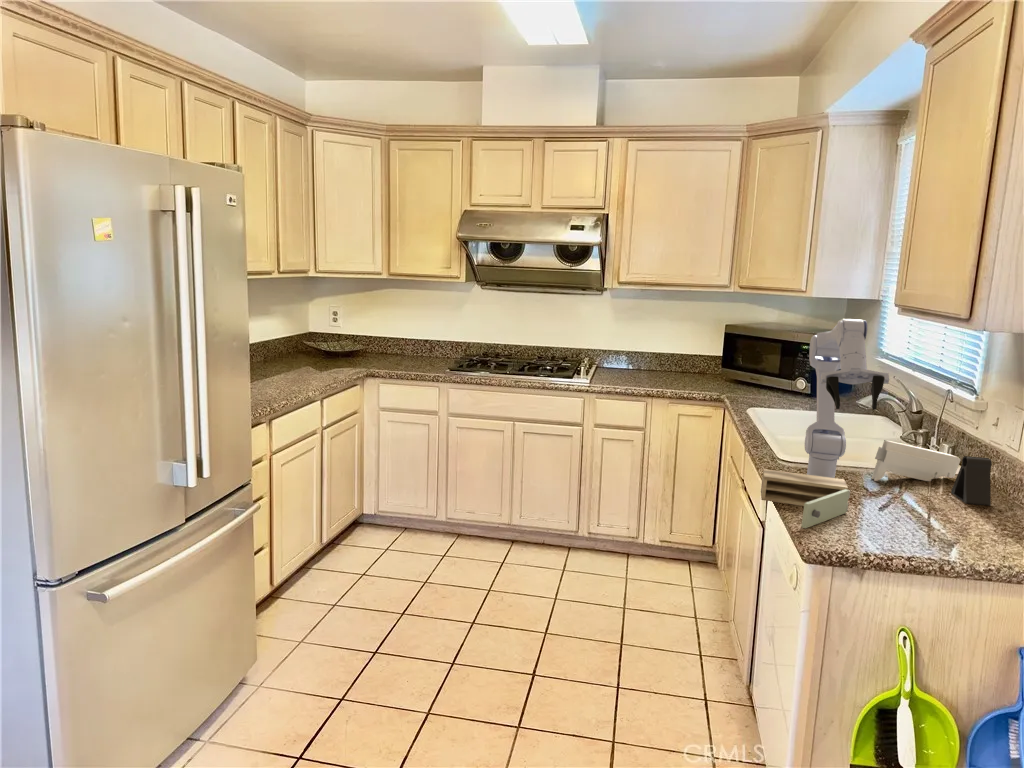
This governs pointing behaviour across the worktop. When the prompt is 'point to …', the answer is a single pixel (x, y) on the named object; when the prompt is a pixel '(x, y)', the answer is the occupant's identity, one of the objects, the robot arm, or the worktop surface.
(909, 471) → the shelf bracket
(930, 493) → the worktop surface
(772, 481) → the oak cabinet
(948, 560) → the worktop surface
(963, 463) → the door stopper
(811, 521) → the cabinet door
